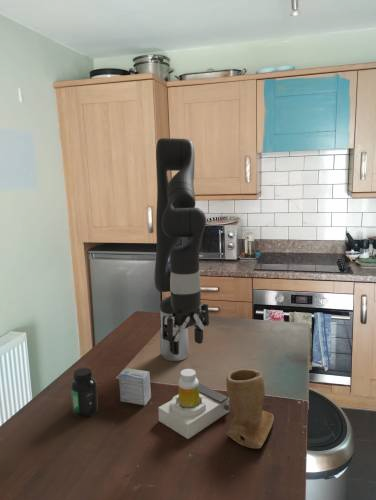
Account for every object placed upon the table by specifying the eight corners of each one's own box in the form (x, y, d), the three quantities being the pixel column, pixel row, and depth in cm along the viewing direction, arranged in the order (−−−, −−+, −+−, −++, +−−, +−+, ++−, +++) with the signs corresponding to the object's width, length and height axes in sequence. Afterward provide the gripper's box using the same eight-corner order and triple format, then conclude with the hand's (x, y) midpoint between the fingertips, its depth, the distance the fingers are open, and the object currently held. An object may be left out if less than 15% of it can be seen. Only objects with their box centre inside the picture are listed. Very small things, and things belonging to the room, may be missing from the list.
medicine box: (151, 398, 124) (150, 371, 122) (145, 406, 120) (143, 378, 118) (127, 393, 127) (125, 367, 125) (120, 402, 123) (118, 374, 121)
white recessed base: (191, 441, 105) (190, 421, 104) (159, 420, 113) (158, 402, 112) (232, 413, 116) (232, 395, 115) (200, 396, 124) (199, 379, 123)
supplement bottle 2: (197, 412, 110) (196, 378, 108) (177, 410, 111) (175, 376, 109) (200, 400, 115) (200, 368, 113) (181, 399, 116) (180, 366, 114)
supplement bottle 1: (76, 421, 114) (72, 380, 112) (70, 408, 120) (67, 369, 118) (101, 413, 117) (98, 373, 115) (94, 401, 123) (91, 363, 121)
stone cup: (235, 408, 118) (235, 359, 115) (278, 419, 113) (279, 367, 109) (214, 441, 105) (213, 386, 102) (260, 455, 100) (261, 397, 96)
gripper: (194, 278, 113) (195, 335, 117) (153, 291, 103) (156, 353, 107) (215, 284, 108) (216, 343, 111) (174, 298, 98) (176, 362, 102)
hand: (187, 348), depth 109 cm, fingers open, 8 cm apart
